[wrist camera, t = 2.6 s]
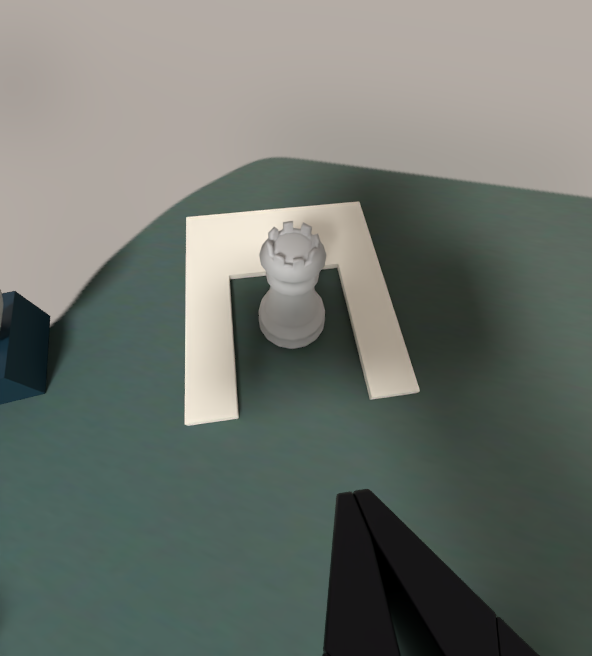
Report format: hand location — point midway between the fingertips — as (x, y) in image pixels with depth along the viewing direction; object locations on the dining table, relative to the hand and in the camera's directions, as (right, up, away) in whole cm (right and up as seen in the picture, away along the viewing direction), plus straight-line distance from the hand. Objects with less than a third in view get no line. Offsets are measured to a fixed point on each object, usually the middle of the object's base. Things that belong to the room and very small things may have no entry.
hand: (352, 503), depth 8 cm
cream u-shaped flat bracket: (-2, +7, +15) cm, 16 cm away
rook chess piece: (-2, +5, +14) cm, 15 cm away
